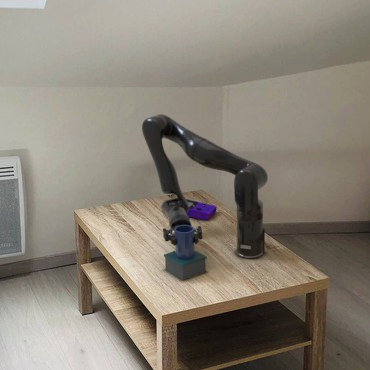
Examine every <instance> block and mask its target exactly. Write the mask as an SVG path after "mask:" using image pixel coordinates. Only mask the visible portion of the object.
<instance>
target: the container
mask: <svg viewBox="0 0 370 370" xmlns="http://www.w3.org/2000/svg"><path fill="white" fill-rule="evenodd" d="M163 257H164V263H165V271H166V272H168V273H170V274H171V275H173V276H174V277H176V278H177V279H180V280H181V281H185V280H188V279H190V278H194V277H196V276H199V275H201V274H204V273H206V271H207V270H206V268H207V266H206V261H207V259H208V257H207V255H204V254H203V253H201V252H199V251H197V250H195V254H194V257H193V258H191V259H186V260H183V259H178V258H177V257H176V256H175V250H173V251H170V252H167V253H165V254H164V253H163Z"/></svg>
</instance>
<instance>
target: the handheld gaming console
mask: <svg viewBox="0 0 370 370" xmlns="http://www.w3.org/2000/svg"><path fill="white" fill-rule="evenodd" d="M186 200H187V202H188V204H189V211H188V213H187V216H188V217H189V218H194V219H197V220H200V221H209V220H210V219H211V218H212V217H213V215H214V214H216V212H217V208H218V206H217V205H213V204H209V203H205V202H200V201H196V200H193V199H188V198H186Z"/></svg>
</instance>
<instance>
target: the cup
mask: <svg viewBox="0 0 370 370" xmlns="http://www.w3.org/2000/svg"><path fill="white" fill-rule="evenodd" d="M174 231H175V240H176V245H174V251H175V256H176V257H177V258H178V259H183V260H186V259H191V258H193V257H194V254H195V251H196V250H195V243H194V226H192V225H191V226H189V225H180V226H177V227H175V229H174Z"/></svg>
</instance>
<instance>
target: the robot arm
mask: <svg viewBox="0 0 370 370" xmlns="http://www.w3.org/2000/svg"><path fill="white" fill-rule="evenodd" d="M141 130H142V131H141V132H142V135H143V138H144V141H145V143H146V145H147V148H148V150H149V153H150V154H151V158H152V160H153V163H154V166H155V168H156V173H157V176H158V180H159V185H160V189H161V192H162V194H164V195H176V197H174V198H173V197H172V198H169V199H166V200H164V201H162V203H161V204H160V209H161V213H162V215H163V216H164V217H165V219H167V220H168V227H169V229H167V228H166V227H164V228H162V236H163V239H164V242H169V241H170V244H171V245H173V246H175V245H176V240H175V231H174V229H175V227H177V226H180V225H189V226H192V223H191V220H190V217H188V216H187V213H188V211H189V204H188V202H187V200H186V199H187V198H186V197H185V195H184V193H183V192H182V188H181V185H180V182H179V177H178V175H177V174H178V173H177V170H176V168H175V165H174V164H173V162H172V161H171V159H170V158H169V156H168V155H167V153H166V152H165V149H164V144H163V139H166V140H169V141H171V142H173V143H175V144H176V145H178V146H179V147H180V148H181V149H182V150H183V152H184V153H185V155H186V156H187V157H188V158H189V159H190V160H192V161H193V162H195V163H197V164H199V165H201V166H202V167H205V168H207V169H212V170H217V171H221V172H226V173H229V174H232V175H234V178H233V179H234V180H233V189H234V190H233V191H234V192H233V193H234V202H235V205H236V254H237V256H238V257H241V258H245V259H255V258H256V259H257V258H258V257H259V258H260V257H261V256H262V255H263V253H264V254H265V240H266V237H265V235H266V229H265V227H264V203H263V201H262V200H261V199H259V190H260V189H261V188H263V187H264V186H265V185H267V183H268V179H269V175H268V173H267V171H266V169H265V168H264V167H263V166H261V165H260V164H258V163H256V162H254V161H252V160H248V159H246V158H245V157H241V156H239V155H236V154H235V153H233V152H232V151H230V150H227V149H226V148H224V147H222V146H221V145H218V144H216V142H215V143H214V142H213V141H211V140H209V139H207V138H206V137H204V136H202V135H199V134H197V133H195V132H194V131H192V130H190V129H188V128H186V127H184V126H183V125H181V124H180V123H179V122H177V121H175V120H174V119H173V118H171V117H170V116H168V115H166V114H162V113H160V114H155V115H152V116H150V117H147V118H146V119H144V121H143V122H142V124H141ZM193 228H194V227H193ZM199 240H203V229H202V225H198V226H197V227H195V228H194V245H198V243H199Z"/></svg>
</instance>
